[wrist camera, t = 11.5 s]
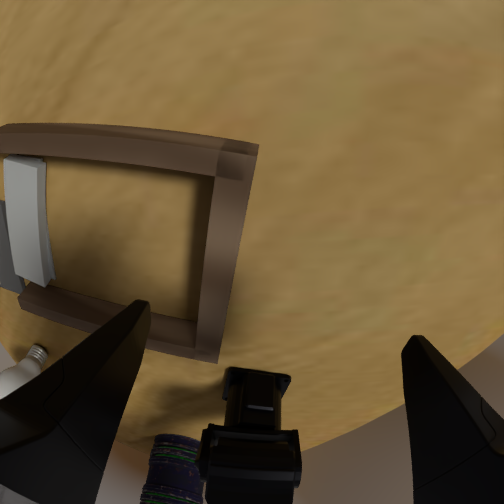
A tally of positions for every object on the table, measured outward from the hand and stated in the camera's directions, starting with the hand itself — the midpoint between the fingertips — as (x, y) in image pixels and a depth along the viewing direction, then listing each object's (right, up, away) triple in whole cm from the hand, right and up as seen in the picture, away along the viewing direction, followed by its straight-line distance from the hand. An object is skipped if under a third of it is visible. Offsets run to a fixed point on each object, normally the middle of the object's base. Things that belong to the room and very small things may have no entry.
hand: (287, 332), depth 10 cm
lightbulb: (-29, -10, +23) cm, 38 cm away
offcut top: (-21, +5, +12) cm, 24 cm away
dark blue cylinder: (-13, -30, +35) cm, 48 cm away
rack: (-13, +4, +13) cm, 18 cm away
